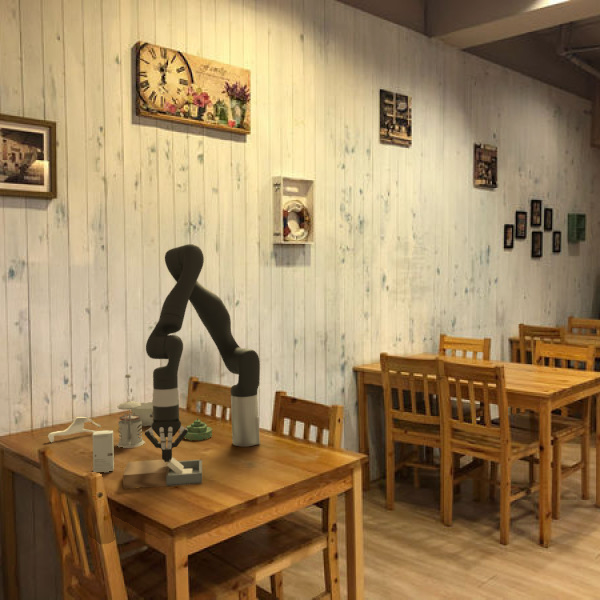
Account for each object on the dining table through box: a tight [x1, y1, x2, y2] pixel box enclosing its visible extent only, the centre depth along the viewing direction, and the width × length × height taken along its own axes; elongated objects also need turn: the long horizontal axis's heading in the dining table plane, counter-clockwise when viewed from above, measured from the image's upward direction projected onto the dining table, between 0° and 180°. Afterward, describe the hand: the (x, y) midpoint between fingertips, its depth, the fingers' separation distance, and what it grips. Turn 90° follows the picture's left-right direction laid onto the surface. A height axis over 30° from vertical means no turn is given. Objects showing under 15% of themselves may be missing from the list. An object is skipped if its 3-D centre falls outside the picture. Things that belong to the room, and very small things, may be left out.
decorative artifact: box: [183, 417, 213, 441], centre depth 232 cm, size 10×7×10 cm
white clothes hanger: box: [47, 416, 102, 443], centre depth 236 cm, size 2×11×18 cm
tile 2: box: [176, 468, 193, 474], centre depth 188 cm, size 4×4×2 cm
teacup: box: [130, 401, 153, 427], centre depth 252 cm, size 15×12×8 cm
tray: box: [166, 459, 203, 487], centre depth 189 cm, size 10×13×3 cm
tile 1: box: [167, 456, 184, 474], centre depth 187 cm, size 4×4×2 cm
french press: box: [116, 373, 146, 449], centre depth 224 cm, size 10×12×25 cm
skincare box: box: [91, 429, 115, 473], centre depth 197 cm, size 6×4×12 cm
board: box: [122, 459, 169, 489], centre depth 187 cm, size 12×12×4 cm
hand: (167, 461), depth 187 cm, fingers closed
